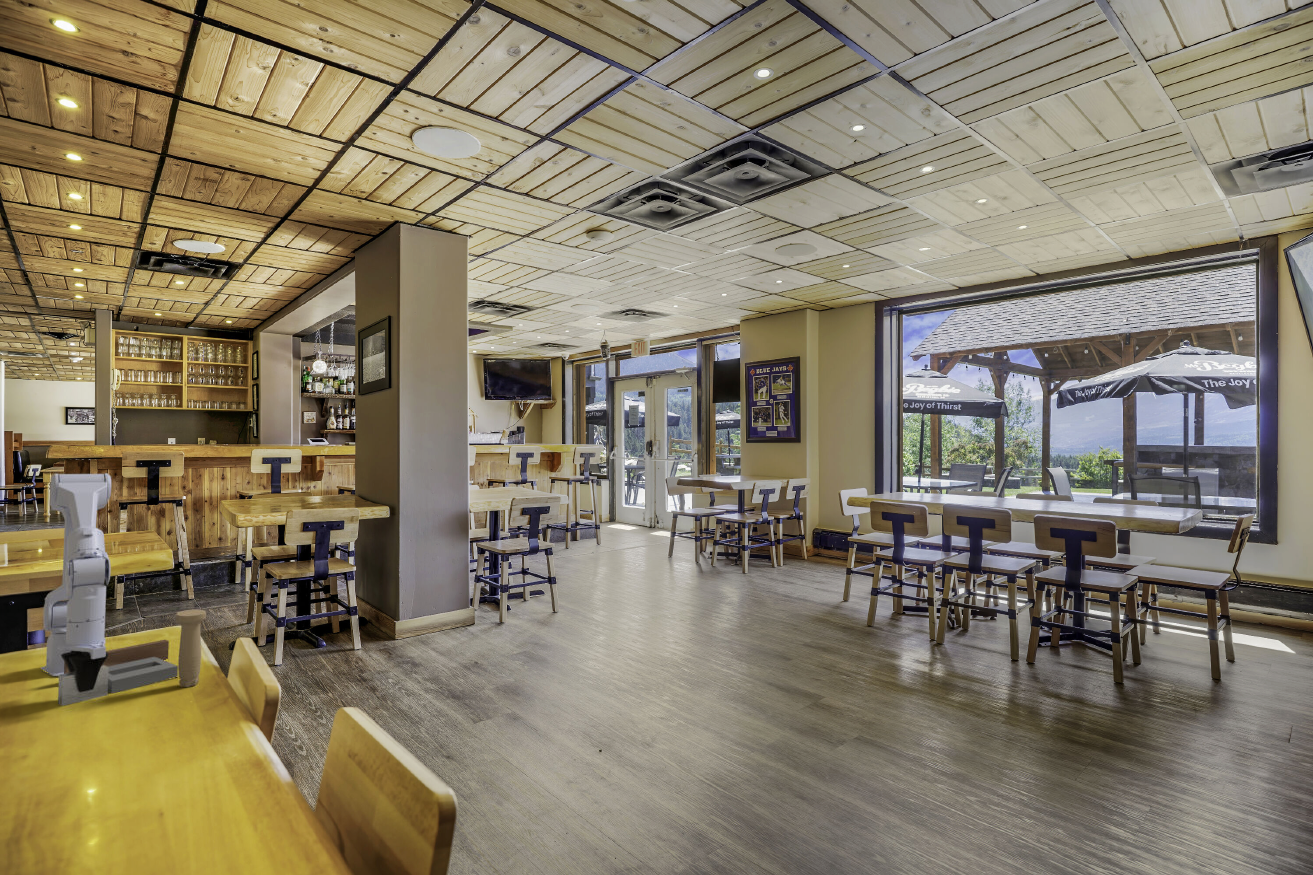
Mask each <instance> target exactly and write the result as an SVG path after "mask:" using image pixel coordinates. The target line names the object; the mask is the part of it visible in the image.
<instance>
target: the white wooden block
mask: <svg viewBox="0 0 1313 875" xmlns="http://www.w3.org/2000/svg"><path fill="white" fill-rule="evenodd" d="M108 670H109V667H107V666H105V665H103V666H101V669H100V671H99V674H98V677H97V680H96V683H95V686H94V689H93V690H89V691H85V692H79V690H78V687H77V680H76V674H75V671H74V672H70V673H65V674H60V675H59V676H58V693H57V694H58V695H57V697H58V698H57V704H58V705H60V706H62V707H65V706H68V705H72V704H76V703H81V702H84V701H89V700H93V699H96V698H97V699H98V698H102V697H105V696H108V695H109V692H108Z"/></svg>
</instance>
